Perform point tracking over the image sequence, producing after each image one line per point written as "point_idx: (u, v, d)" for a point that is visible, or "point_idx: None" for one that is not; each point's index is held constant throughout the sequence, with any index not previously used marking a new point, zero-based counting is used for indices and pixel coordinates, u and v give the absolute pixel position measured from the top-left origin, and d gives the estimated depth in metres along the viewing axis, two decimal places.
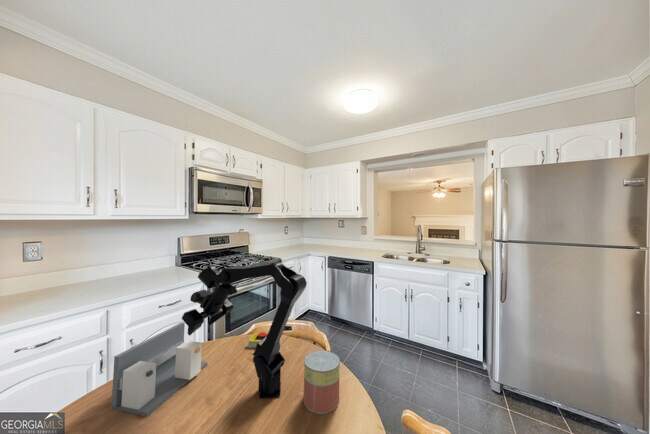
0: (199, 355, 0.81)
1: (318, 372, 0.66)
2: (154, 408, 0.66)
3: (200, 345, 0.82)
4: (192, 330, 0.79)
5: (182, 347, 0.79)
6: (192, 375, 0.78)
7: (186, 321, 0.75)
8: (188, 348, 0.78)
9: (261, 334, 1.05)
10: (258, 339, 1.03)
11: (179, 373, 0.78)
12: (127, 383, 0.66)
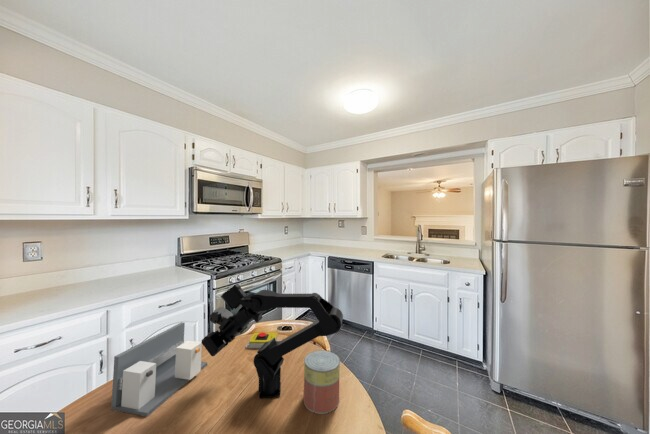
0: (199, 355, 0.81)
1: (318, 372, 0.66)
2: (154, 408, 0.66)
3: (200, 345, 0.82)
4: None
5: (182, 347, 0.79)
6: (192, 375, 0.78)
7: (207, 346, 0.69)
8: (188, 348, 0.78)
9: (261, 334, 1.05)
10: (258, 339, 1.03)
11: (179, 373, 0.78)
12: (127, 383, 0.66)
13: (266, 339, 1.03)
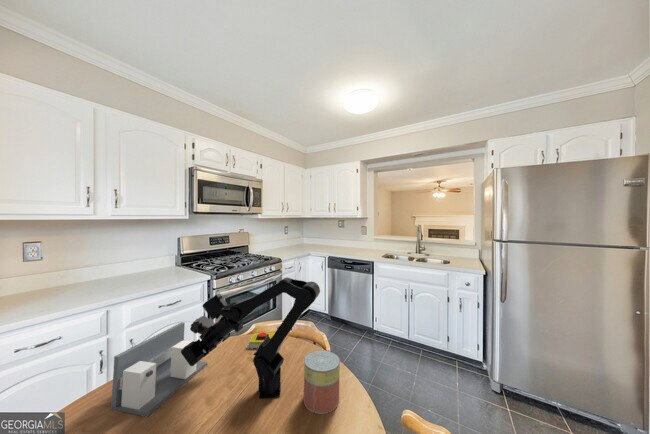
0: None
1: (318, 372, 0.66)
2: (154, 408, 0.66)
3: None
4: None
5: (178, 346, 0.79)
6: (188, 374, 0.78)
7: (186, 356, 0.70)
8: None
9: (261, 334, 1.05)
10: (259, 339, 1.02)
11: (175, 372, 0.78)
12: (127, 383, 0.66)
13: None
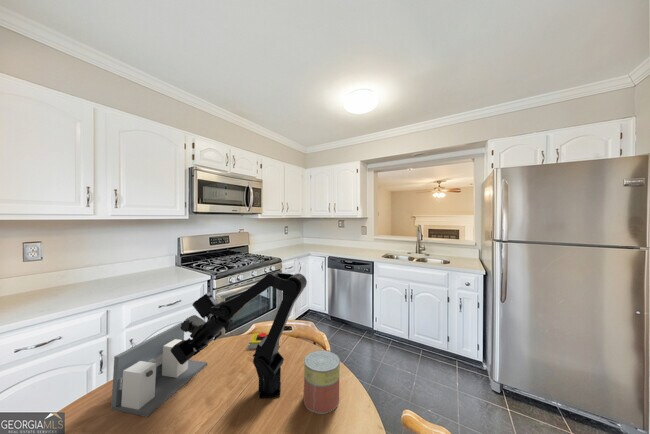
0: None
1: (318, 372, 0.66)
2: (154, 408, 0.66)
3: None
4: None
5: (169, 345, 0.80)
6: (179, 373, 0.79)
7: (176, 355, 0.71)
8: None
9: (262, 334, 1.05)
10: (259, 340, 1.02)
11: (166, 371, 0.79)
12: (127, 383, 0.66)
13: None
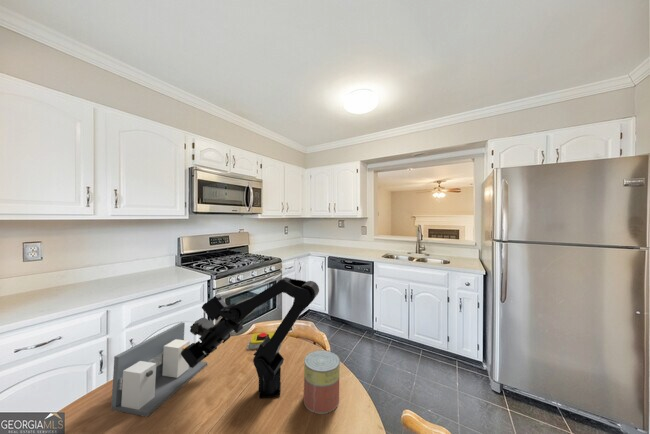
0: None
1: (318, 372, 0.66)
2: (154, 408, 0.66)
3: (188, 343, 0.83)
4: None
5: (170, 345, 0.80)
6: (179, 373, 0.79)
7: (186, 358, 0.70)
8: (175, 346, 0.79)
9: (262, 335, 1.05)
10: (260, 340, 1.02)
11: (167, 371, 0.79)
12: (127, 383, 0.66)
13: None
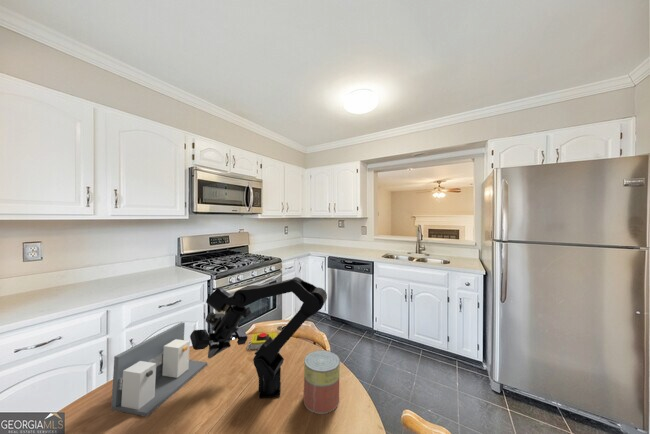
0: (187, 353, 0.82)
1: (318, 372, 0.66)
2: (154, 408, 0.66)
3: (188, 343, 0.83)
4: (211, 352, 0.77)
5: (170, 345, 0.80)
6: (179, 373, 0.79)
7: (192, 339, 0.72)
8: (175, 346, 0.79)
9: (262, 335, 1.04)
10: (260, 340, 1.02)
11: (167, 371, 0.79)
12: (127, 383, 0.66)
13: None
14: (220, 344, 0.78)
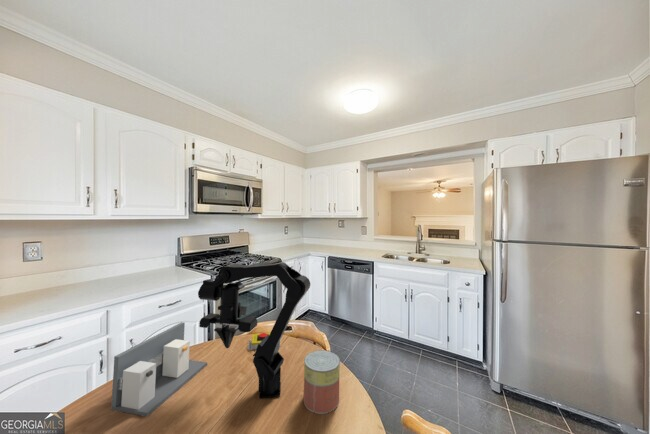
0: (187, 353, 0.82)
1: (318, 372, 0.66)
2: (154, 408, 0.66)
3: (188, 343, 0.83)
4: None
5: (170, 345, 0.80)
6: (179, 373, 0.79)
7: None
8: (175, 346, 0.79)
9: (262, 335, 1.04)
10: (260, 340, 1.02)
11: (167, 371, 0.79)
12: (127, 383, 0.66)
13: None
14: None
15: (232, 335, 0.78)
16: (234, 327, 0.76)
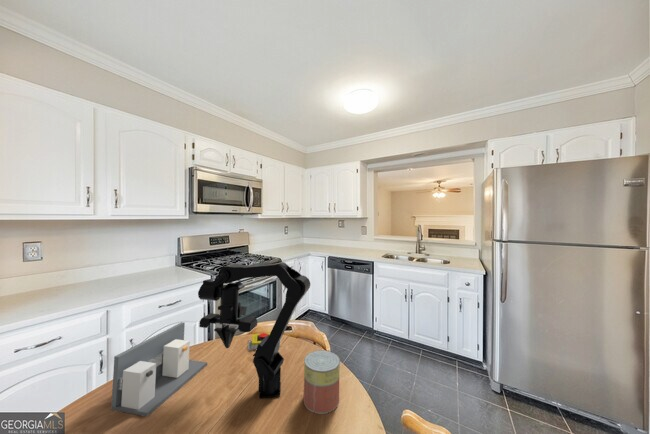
0: (187, 353, 0.82)
1: (318, 372, 0.66)
2: (154, 408, 0.66)
3: (188, 343, 0.83)
4: None
5: (170, 345, 0.80)
6: (179, 373, 0.79)
7: None
8: (175, 346, 0.79)
9: (262, 335, 1.04)
10: (261, 340, 1.02)
11: (167, 371, 0.79)
12: (127, 383, 0.66)
13: None
14: None
15: (232, 335, 0.78)
16: (234, 327, 0.76)
